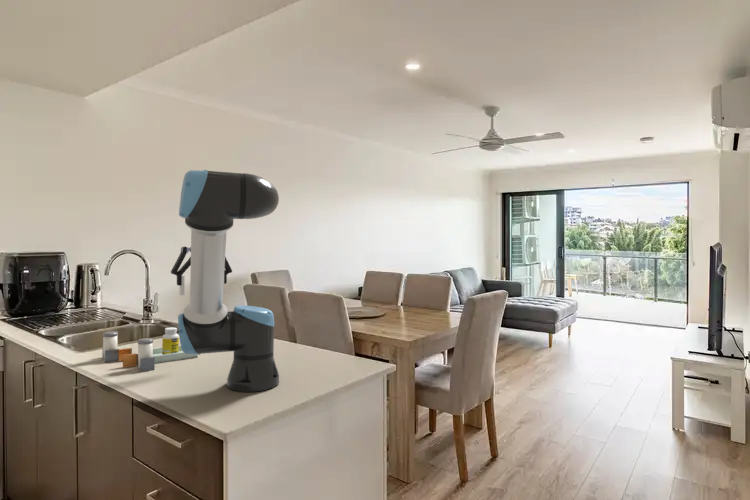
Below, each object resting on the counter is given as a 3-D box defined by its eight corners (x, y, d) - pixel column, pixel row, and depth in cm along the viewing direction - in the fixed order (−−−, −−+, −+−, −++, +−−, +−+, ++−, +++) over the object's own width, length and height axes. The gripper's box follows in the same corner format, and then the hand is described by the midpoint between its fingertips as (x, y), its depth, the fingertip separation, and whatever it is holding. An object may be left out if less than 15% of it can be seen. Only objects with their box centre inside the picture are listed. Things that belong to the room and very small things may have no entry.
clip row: (154, 369, 150) (154, 357, 150) (112, 375, 142) (112, 362, 142) (139, 352, 170) (139, 342, 170) (102, 357, 163) (102, 346, 163)
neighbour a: (154, 368, 151) (154, 340, 151) (139, 370, 148) (139, 341, 148) (151, 365, 155) (151, 337, 155) (136, 367, 152) (136, 339, 152)
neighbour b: (118, 359, 161) (118, 333, 160) (103, 361, 158) (103, 334, 158) (116, 356, 164) (116, 330, 164) (102, 358, 162) (102, 332, 161)
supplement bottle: (172, 357, 162) (172, 330, 162) (158, 356, 163) (159, 329, 163) (181, 353, 168) (182, 327, 167) (168, 352, 169) (168, 326, 169)
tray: (197, 357, 166) (197, 350, 166) (149, 363, 156) (149, 356, 156) (188, 350, 175) (188, 344, 175) (142, 356, 166) (142, 349, 166)
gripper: (233, 234, 169) (232, 291, 169) (161, 232, 153) (160, 295, 153) (241, 233, 163) (241, 293, 163) (167, 231, 147) (167, 296, 147)
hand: (202, 294), depth 158 cm, fingers open, 13 cm apart
